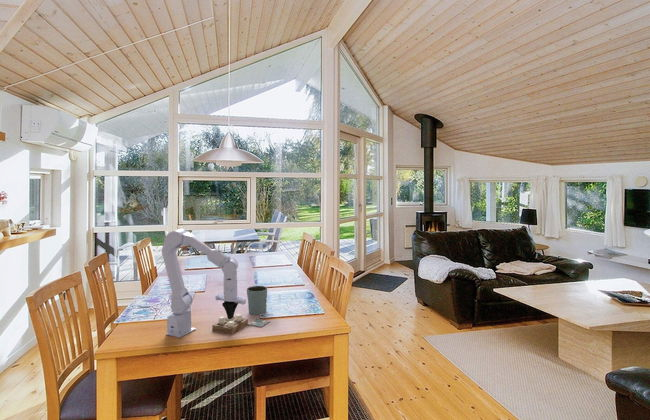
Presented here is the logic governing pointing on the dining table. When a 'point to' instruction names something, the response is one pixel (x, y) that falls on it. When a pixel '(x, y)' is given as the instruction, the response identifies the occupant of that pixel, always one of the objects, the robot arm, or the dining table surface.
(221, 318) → the button near left
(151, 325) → the dining table surface
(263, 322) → the card
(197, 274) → the dining table surface
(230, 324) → the button near right
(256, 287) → the grey cup
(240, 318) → the button far right
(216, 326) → the board
